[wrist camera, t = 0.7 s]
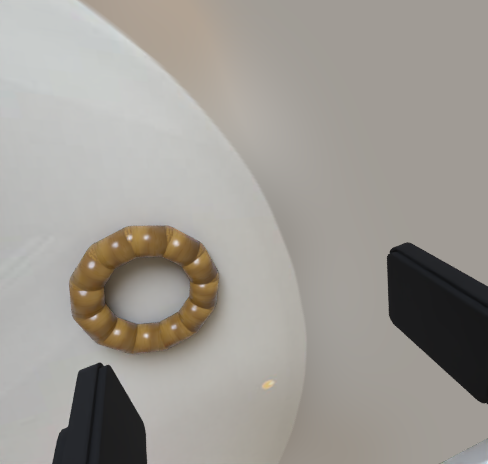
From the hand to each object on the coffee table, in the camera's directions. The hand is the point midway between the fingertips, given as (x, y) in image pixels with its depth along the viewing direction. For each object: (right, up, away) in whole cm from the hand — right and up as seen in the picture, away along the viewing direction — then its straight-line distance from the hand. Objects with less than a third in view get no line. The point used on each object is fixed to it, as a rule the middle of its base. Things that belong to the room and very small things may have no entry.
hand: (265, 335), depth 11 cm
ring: (-7, -1, +12) cm, 14 cm away
